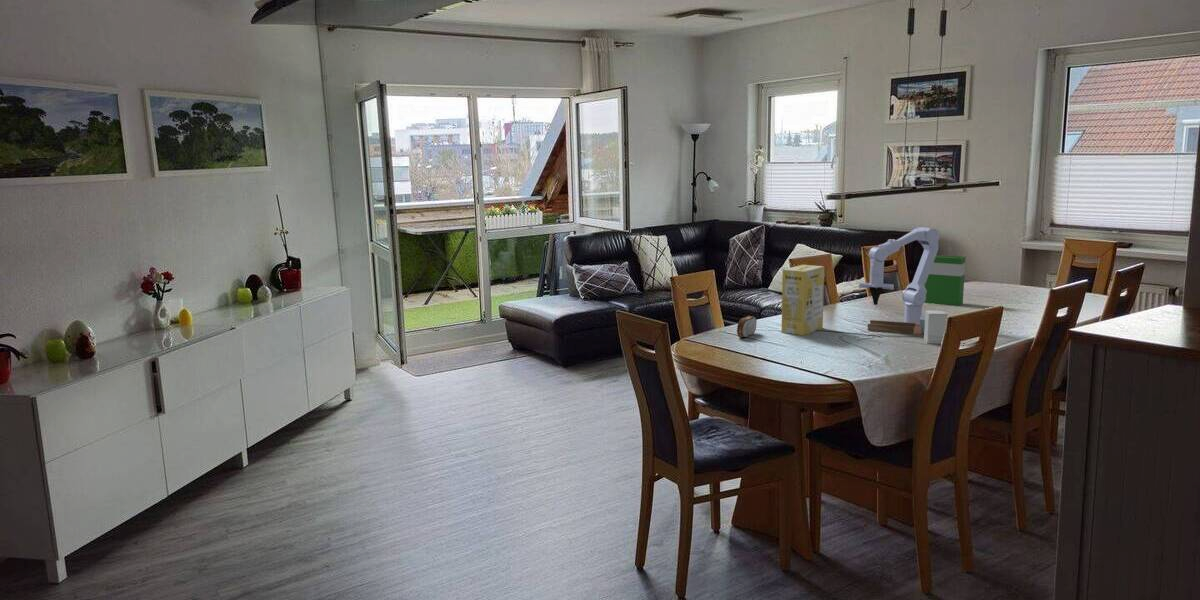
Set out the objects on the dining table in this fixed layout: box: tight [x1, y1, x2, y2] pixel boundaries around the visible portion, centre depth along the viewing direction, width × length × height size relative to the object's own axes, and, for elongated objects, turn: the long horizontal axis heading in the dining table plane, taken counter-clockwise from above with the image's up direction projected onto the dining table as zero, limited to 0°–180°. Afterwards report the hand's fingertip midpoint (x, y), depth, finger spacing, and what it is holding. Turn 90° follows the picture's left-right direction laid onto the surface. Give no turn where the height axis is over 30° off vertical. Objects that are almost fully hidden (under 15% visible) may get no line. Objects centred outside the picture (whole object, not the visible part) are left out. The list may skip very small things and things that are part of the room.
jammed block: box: [919, 316, 925, 335], centre depth 350 cm, size 6×6×6 cm
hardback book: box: [924, 254, 966, 307], centre depth 411 cm, size 18×7×24 cm, turn 52°
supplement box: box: [923, 309, 948, 345], centre depth 333 cm, size 7×7×13 cm
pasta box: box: [781, 264, 825, 336], centre depth 359 cm, size 18×10×28 cm, turn 138°
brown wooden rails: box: [867, 319, 922, 335], centre depth 356 cm, size 9×22×3 cm, turn 65°
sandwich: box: [736, 315, 758, 338], centre depth 352 cm, size 15×3×8 cm, turn 145°
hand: (875, 304), depth 361 cm, fingers closed
